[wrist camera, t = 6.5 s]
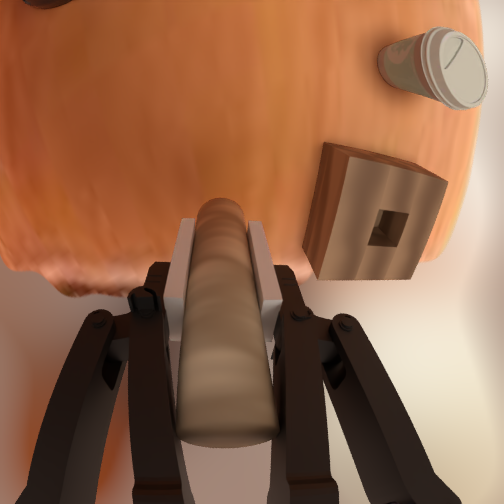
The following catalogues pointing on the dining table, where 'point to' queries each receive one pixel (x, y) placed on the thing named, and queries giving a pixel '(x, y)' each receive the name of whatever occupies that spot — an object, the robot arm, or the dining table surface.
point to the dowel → (223, 340)
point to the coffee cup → (437, 67)
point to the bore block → (370, 215)
